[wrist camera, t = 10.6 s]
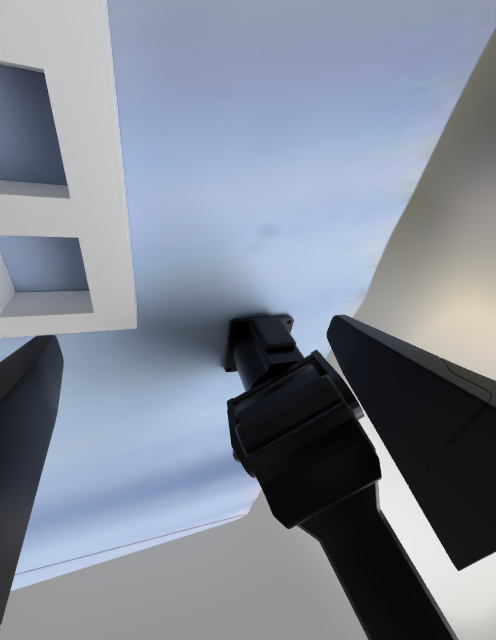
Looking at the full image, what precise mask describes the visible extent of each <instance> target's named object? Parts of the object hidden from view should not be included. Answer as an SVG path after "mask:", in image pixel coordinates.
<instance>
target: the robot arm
mask: <svg viewBox="0 0 496 640" xmlns="http://www.w3.org/2000/svg"><path fill="white" fill-rule="evenodd" d="M288 320H289V321H288ZM287 321H288V322H287ZM293 322H294V320H293V318H292V317H291V316H269V317H254V318H243V319H233V320H231V321H230V323H229V330H228V337H227V345H226V353H225V361H224V369H225V371H226V372H235V371H238V373H239V376H240V378H241V381H242V383H243V386H244V389H245V391H246V392H244V393H242V394H241V395H239V396H237V397H235V398H234V399H233V398H232V399H230V400H228V401H227V407H228V410H227V413H228V421H229V429H230V437H231V445H232V448H233V456H234V459H235V460H236V461H238V462H240V463H241V464H242V466H243V467H244V469H245V470H246V472H247V473H248V474H249V475H250V476H251V477H253V478H255V477H256V478H257V480H258V482H259V484H260V486H261V488H262V490H263V492H264V494H265V496H266V499H267V501H268V504H269V506H270V509H271V511H272V514H273V515H274V517H275V518H276V519H277V520H278V521H279V522H281V523H282V524H283V525H284V526H285V527H286V528H287V529H291V528H293V527H294V526H296V525H297V526H298V527H300V528H301V529H303V530H304V531H306V532H307V533H308V534H310V535H311V536H312V537H314V538H315V539H317V540H318V541H319V542H320V544H321V546H322V548H323V550H324V552H325V553H326V556H327V557H328V560H329V562H330V564H331V566H332V568H333V570H334V572H335V574H336V576H337V577H338V579H339V582H340V584H341V586H342V587H343V590H344V592H345V593H346V596H347V598H348V599H349V602H350V604H351V605H352V607H353V609H354V612H355V614H356V616H357V618H358V620H359V622H360V623H361V625H362V627H363V629H364V631H365V633H366V635H367V637H368V639H369V640H458V638H457V637H456V635H455V633H454V631H453V630H452V628H451V626H450V625H449V623H448V621H447V620H446V618H445V616H444V615H443V613H442V611H441V610H440V608H439V606H438V604H437V603H436V601H435V599H434V598H433V596H432V595H431V593H430V591H429V589H428V588H427V586H426V584H425V583H424V581H423V579H422V578H421V576H420V574H419V573H418V571H417V569H416V568H415V566H414V565H413V563H412V561H411V560H410V558H409V556H408V554H407V553H406V551H405V549H404V548H403V546H402V544H401V543H400V541H399V539H398V538H397V536H396V534H395V532H394V531H393V529H392V528H391V526H390V524H389V523H388V521H387V519H386V517H385V516H384V514H383V512H382V511H381V509H380V503H379V488H378V480H380V479H381V469H380V462H379V458H378V456H377V454H376V450H375V448H374V446H373V444H372V442H371V441H370V439H369V438H368V436H367V434H366V433H365V431H364V429H363V428H362V426H361V424H360V423H359V421H358V420H359V419H360V418H362V417H364V413H363V411H362V409H361V407H360V405H359V403H358V401H357V400H356V398H355V396H354V395H353V393H352V392H351V390H350V389H349V387H348V386H347V384H346V383H345V382H344V380H343V379H342V378H341V376H340V375H339V374H338V373H337V372H336V371H335V370H334V368H333V367H332V366H331V365H330V364H329V363H328V362H327V361H326V360H325V358H324V357H323V356H322V355H321V354H320V353H319V352H318V351H317V350H315V351H313V352H312V353H311V354H310V355H309V356H307V357H305V358H304V357H303V355H302V354H301V352H300V351H299V349H298V348H297V346H296V342H295V340H294V339H293V337H292V336H291V334H290V332H291V329H292V325H293ZM234 324H236V325H235V326H233V325H234ZM327 339H328V342H329V344H330V346H331V348H332V350H333V352H334V355H335V357H336V359H337V361H338V364H339V366H340V368H341V370H342V372H343V374H344V376H345V377H346V379H347V381H348V383H349V384H350V386H351V388H352V390H353V391H354V393H355V395H356V397H357V398H358V400H359V402H360V403H361V405H362V407H363V409H364V410H365V412H366V414H367V415H368V417H369V419H370V421H371V422H372V424H373V426H374V428H375V429H376V431H377V433H378V435H379V436H380V438H381V440H382V441H383V443H384V445H385V447H386V448H387V450H388V452H389V454H390V455H391V457H392V459H393V460H394V462H395V464H396V466H397V467H398V469H399V471H400V473H401V474H402V476H403V477H404V479H405V481H406V483H407V485H409V488H410V490H411V492H412V494H413V495H414V497H415V499H416V501H417V502H418V504H419V506H420V507H421V509H422V511H423V513H424V514H425V516H426V518H427V520H428V521H429V523H430V525H431V527H432V528H433V530H434V532H435V533H436V535H437V537H438V539H439V540H440V542H441V544H442V546H443V547H444V549H445V551H446V553H447V554H448V556H449V558H450V559H451V561H452V563H453V564H454V566H455V567H456V569H457V570H458V571H460V570H462V569H464V568H466V567H468V566H470V565H472V564H474V563H476V562H477V561H479V560H481V559H483V558H485V557H487V556H489V555H491V554H493V553H495V552H496V381H495V380H492V379H490V378H487V377H485V376H482V375H480V374H478V373H475V372H472V371H470V370H468V369H466V368H463V367H461V366H459V365H456V364H454V363H452V362H450V361H447V360H445V359H443V358H439V357H438V356H436V355H434V354H431V353H429V352H427V351H425V350H423V349H420V348H418V347H416V346H414V345H411V344H409V343H407V342H405V341H402V340H400V339H398V338H396V337H393V336H391V335H389V334H386V333H385V332H382V331H380V330H378V329H376V328H373V327H371V326H369V325H366V324H364V323H362V322H360V321H358V320H355V319H353V318H351V317H349V316H347V315H335V316H334V317H333V318H332V320H331V323H330V325H329V328H328V331H327ZM63 365H64V361H63V355H62V352H61V349H60V346H59V343H58V340H57V337H56V336H55V335H39V336H36V337H34V338H33V339H31V340H30V341H29V342H27V343H26V344H24V345H23V346H22V347H20V348H19V349H18V350H16V351H15V352H14V353H12V354H11V355H9V356H8V357H7V358H5V359H4V360H3V361H1V362H0V625H1V623H2V620H3V616H4V612H5V608H6V605H7V601H8V597H9V593H10V590H11V586H12V582H13V578H14V575H15V571H16V567H17V563H18V560H19V556H20V552H21V549H22V545H23V541H24V537H25V534H26V530H27V526H28V522H29V519H30V515H31V511H32V507H33V504H34V500H35V496H36V492H37V489H38V485H39V481H40V477H41V474H42V470H43V466H44V463H45V459H46V455H47V451H48V448H49V444H50V440H51V436H52V433H53V429H54V425H55V421H56V417H57V412H58V405H59V397H60V389H61V381H62V373H63ZM228 367H229V368H228Z"/></svg>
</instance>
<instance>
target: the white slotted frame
mask: <svg viewBox="0 0 496 640" xmlns="http://www.w3.org/2000/svg"><path fill="white" fill-rule="evenodd" d="M0 65H5V66H11V67H16V68H21V69H26V70H31V71H37V72H42V73H45V78H46V83H47V88H48V93H49V97H50V102H51V107H52V112H53V117H54V122H55V127H56V131H57V136H58V141H59V146H60V151H61V156H62V160H63V165H64V170H65V175H66V180H67V185H68V186H66V185H54V184H42V183H30V182H17V181H5V180H0V235H8V236H41V237H75V238H79V243H80V248H81V252H82V257H83V262H84V267H85V272H86V277H87V281H88V286H89V291H51V292H16V291H15V289H14V286H13V283H12V281H11V278H10V275H9V273H8V270H7V267H6V265H5V262H4V260H3V257H2V254H1V252H0V338H7V337H22V336H37V335H51V334H66V333H81V332H95V331H110V330H124V329H137V299H136V289H135V279H134V268H133V258H132V248H131V238H130V228H129V218H128V208H127V198H126V188H125V178H124V168H123V158H122V148H121V138H120V128H119V117H118V107H117V97H116V87H115V77H114V67H113V57H112V47H111V37H110V27H109V17H108V7H107V0H0Z"/></svg>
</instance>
